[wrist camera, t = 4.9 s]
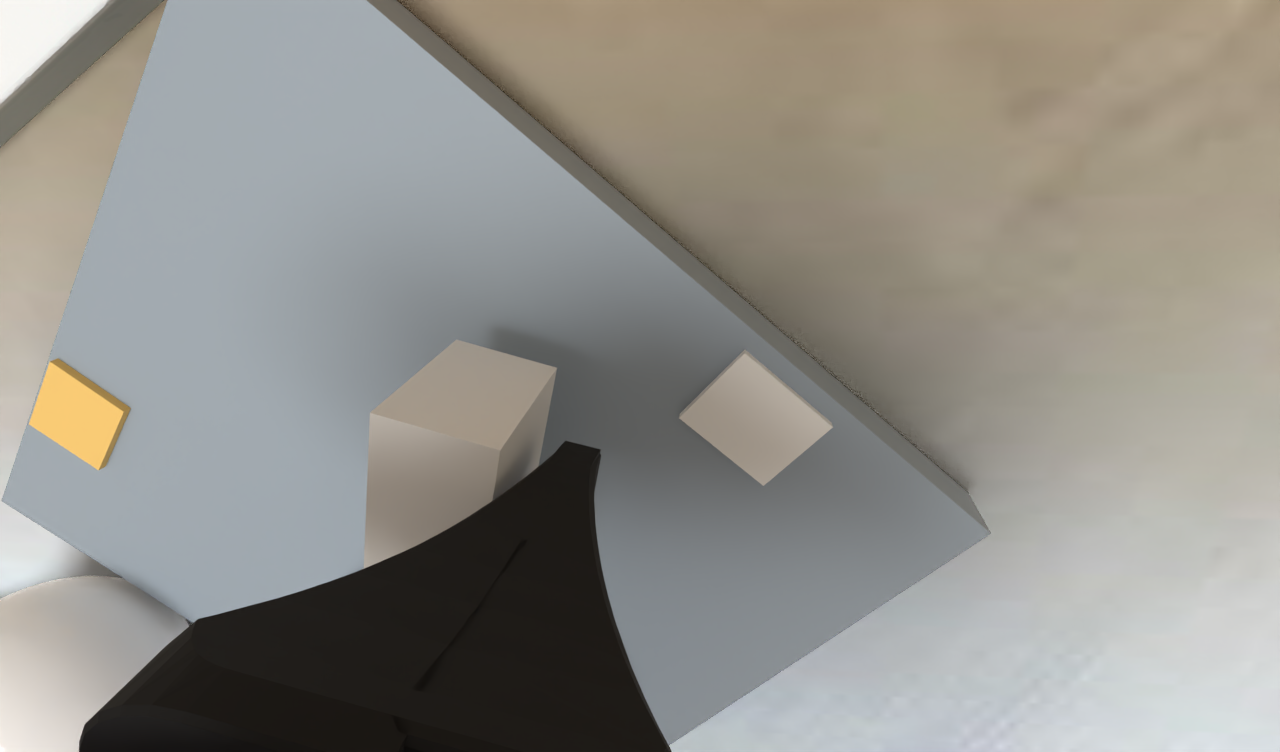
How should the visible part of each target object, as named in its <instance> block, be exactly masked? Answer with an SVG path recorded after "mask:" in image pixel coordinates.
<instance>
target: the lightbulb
mask: <svg viewBox="0 0 1280 752" xmlns="http://www.w3.org/2000/svg"><path fill="white" fill-rule="evenodd" d="M188 627H189V624H188V622H187V620H186V618H185V617H183V616H182V615H180V614H178V613H177V612H175V611H174V610H172V609H171V608H169V607H167V606H166V605H164V604H163V603H161V602H160V601H158V600H156V599H155V598H153V597H152V596H150V595H149V594H147V593H145V592H144V591H142V590H141V589H139V588H138V587H136V586H134V585H133V584H131V583H130V582H128V581H127V580H125V579H122V578H116V577H108V576H78V577H69V578H62V579H57V580H52V581H48V582H44V583H40V584H37V585H33V586H30V587H27V588H25V589H22V590H19V591H17V592H14V593H12V594H10V595H7V596H5V597H3V598H1V599H0V752H79V740H80V737H81V734H82V731H83V728H84V725H85V723H86V722H88V721H89V720H90V719H91V718H92V717H93V716H94V715H95V714H96V713H97V712H98V711H99V710H100V709H101V708H102V707H103V706H104V705H105V704H106V703H107V702H108V701H109V700H110V699H111V698H112V697H113V696H115V695H116V694H117V693H118V692H119V691H120V690H121V689H122V688H123V687H124V686H125V685H126V684H127V683H128V682H129V681H130V680H131V679H132V678H133V677H134V676H135V675H136V674H137V673H138V672H139V671H140V670H142V669H143V668H144V667H145V666H146V665H147V664H148V663H149V662H150V661H151V660H152V659H153V658H154V657H155V656H156V655H157V654H158V653H159V652H160V651H161V650H162V649H163V648H164V647H165V646H167V645H168V644H169V643H170V642H171V641H172V640H174V639H175V638H176V637H177V636H178V635H180V634H181V633H182V632H183V631H184V630H186V629H187V628H188Z"/></svg>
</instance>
